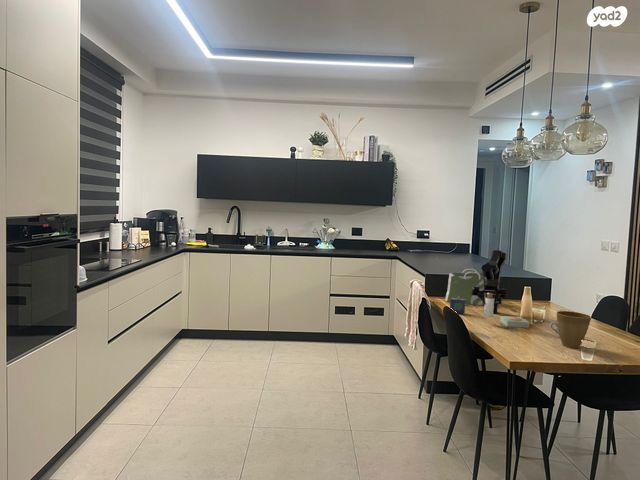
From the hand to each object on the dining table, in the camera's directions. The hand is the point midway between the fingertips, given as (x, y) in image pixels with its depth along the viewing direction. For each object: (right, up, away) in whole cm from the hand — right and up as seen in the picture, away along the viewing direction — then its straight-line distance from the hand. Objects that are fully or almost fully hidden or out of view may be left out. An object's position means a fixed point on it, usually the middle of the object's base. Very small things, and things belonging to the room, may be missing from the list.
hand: (489, 304), depth 259 cm
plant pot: (+28, -16, -33) cm, 46 cm away
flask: (-11, -9, +25) cm, 29 cm away
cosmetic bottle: (0, -6, +2) cm, 7 cm away
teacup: (+33, -15, -17) cm, 40 cm away
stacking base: (+16, -12, +4) cm, 20 cm away
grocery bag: (+8, -7, +60) cm, 61 cm away
